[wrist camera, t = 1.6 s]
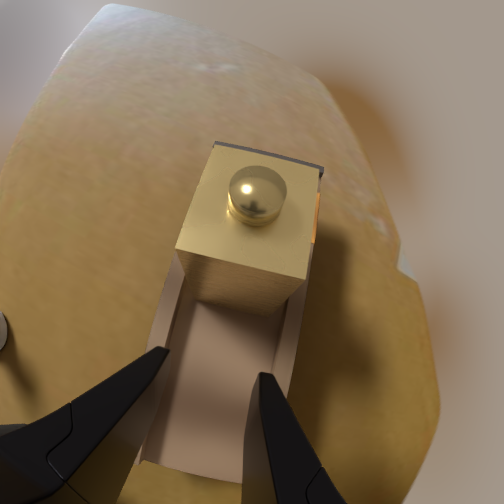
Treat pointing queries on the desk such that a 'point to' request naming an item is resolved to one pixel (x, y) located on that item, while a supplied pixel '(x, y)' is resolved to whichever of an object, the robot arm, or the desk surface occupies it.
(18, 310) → the desk surface
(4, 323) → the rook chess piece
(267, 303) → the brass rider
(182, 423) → the balance beam
